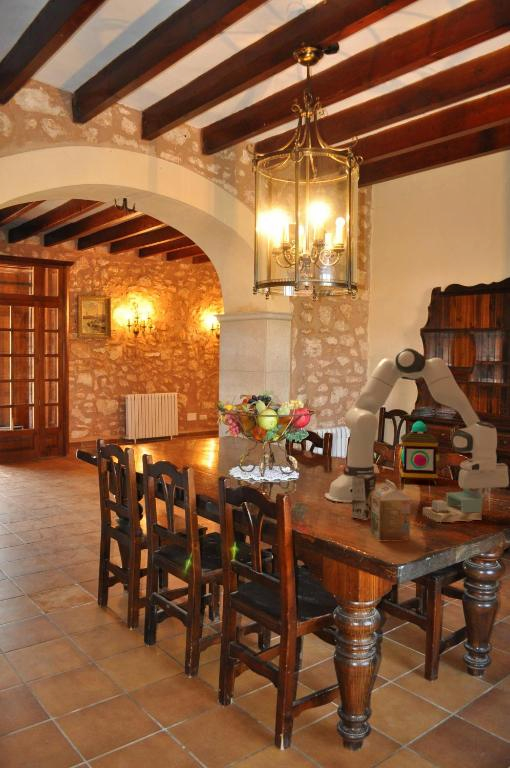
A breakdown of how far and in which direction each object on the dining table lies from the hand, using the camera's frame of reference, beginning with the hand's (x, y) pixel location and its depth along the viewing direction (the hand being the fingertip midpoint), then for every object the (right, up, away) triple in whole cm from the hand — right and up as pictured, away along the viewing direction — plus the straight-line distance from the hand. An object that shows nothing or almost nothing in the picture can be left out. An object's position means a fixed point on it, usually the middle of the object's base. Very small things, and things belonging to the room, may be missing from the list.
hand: (483, 498), depth 238 cm
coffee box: (-47, -7, -2) cm, 48 cm away
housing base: (-13, -7, -3) cm, 15 cm away
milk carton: (-43, -8, -27) cm, 51 cm away
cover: (-8, -3, -2) cm, 9 cm away
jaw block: (-18, -6, -4) cm, 20 cm away
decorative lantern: (-8, -4, +64) cm, 65 cm away
